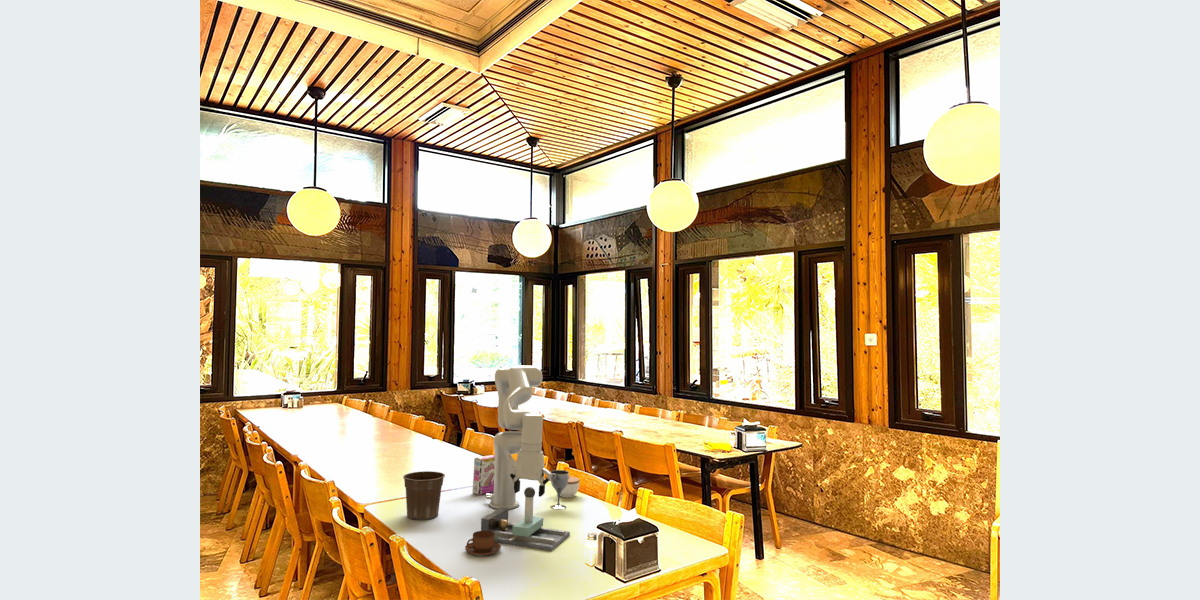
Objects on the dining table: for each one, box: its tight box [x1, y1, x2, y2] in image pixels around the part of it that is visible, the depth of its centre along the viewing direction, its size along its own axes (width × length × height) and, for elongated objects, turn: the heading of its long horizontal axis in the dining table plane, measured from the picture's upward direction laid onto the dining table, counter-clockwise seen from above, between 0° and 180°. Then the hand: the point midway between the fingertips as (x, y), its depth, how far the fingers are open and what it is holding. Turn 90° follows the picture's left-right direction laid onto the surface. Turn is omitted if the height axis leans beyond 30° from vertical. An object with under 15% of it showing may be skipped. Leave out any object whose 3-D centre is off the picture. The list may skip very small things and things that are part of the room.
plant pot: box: [402, 470, 446, 521], centre depth 250 cm, size 16×16×16 cm
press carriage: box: [512, 486, 544, 537], centre depth 228 cm, size 6×14×16 cm, turn 162°
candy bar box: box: [472, 454, 495, 496], centre depth 290 cm, size 11×5×16 cm, turn 144°
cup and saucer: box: [464, 530, 502, 557], centre depth 212 cm, size 12×12×6 cm
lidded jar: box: [560, 476, 581, 498], centre depth 289 cm, size 11×11×9 cm
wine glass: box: [549, 469, 570, 510], centre depth 270 cm, size 8×8×15 cm
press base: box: [480, 507, 571, 552], centre depth 228 cm, size 28×18×8 cm, turn 72°
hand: (529, 493), depth 229 cm, fingers open, 9 cm apart
